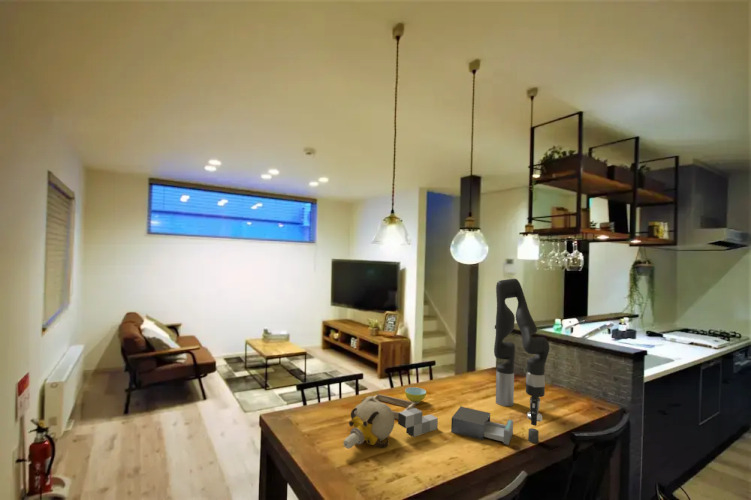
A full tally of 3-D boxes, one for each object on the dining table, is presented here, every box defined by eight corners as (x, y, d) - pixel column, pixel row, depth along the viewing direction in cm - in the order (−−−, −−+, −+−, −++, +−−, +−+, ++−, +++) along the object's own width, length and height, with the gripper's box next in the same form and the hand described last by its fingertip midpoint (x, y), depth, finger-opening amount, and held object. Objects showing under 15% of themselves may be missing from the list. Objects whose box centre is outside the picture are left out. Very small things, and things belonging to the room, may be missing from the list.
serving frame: (377, 399, 200) (377, 393, 201) (415, 408, 190) (415, 402, 190) (362, 410, 186) (362, 404, 186) (401, 420, 175) (401, 414, 175)
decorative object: (367, 385, 170) (317, 410, 148) (406, 407, 156) (357, 439, 133) (364, 415, 173) (314, 444, 150) (402, 439, 158) (353, 476, 136)
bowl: (427, 407, 192) (427, 395, 192) (405, 406, 192) (405, 394, 193) (424, 398, 204) (425, 387, 204) (404, 398, 204) (404, 386, 204)
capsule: (528, 437, 162) (529, 427, 162) (538, 440, 160) (538, 429, 160) (527, 441, 158) (528, 431, 158) (537, 444, 156) (538, 433, 156)
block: (405, 440, 156) (405, 416, 156) (397, 435, 160) (398, 412, 160) (437, 429, 167) (438, 406, 168) (429, 424, 171) (430, 403, 172)
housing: (460, 419, 178) (460, 406, 178) (489, 427, 171) (490, 413, 171) (451, 432, 164) (451, 417, 165) (482, 440, 158) (483, 425, 158)
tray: (479, 425, 172) (479, 412, 172) (512, 433, 165) (513, 420, 165) (473, 435, 161) (473, 422, 161) (508, 444, 154) (508, 430, 154)
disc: (527, 414, 163) (527, 410, 163) (542, 417, 161) (542, 413, 161) (526, 419, 158) (526, 415, 158) (541, 422, 155) (541, 418, 155)
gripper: (527, 376, 168) (526, 413, 167) (524, 386, 155) (523, 426, 155) (545, 380, 164) (544, 417, 164) (543, 390, 151) (542, 431, 151)
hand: (534, 421), depth 159 cm, fingers closed on disc, 6 cm apart
